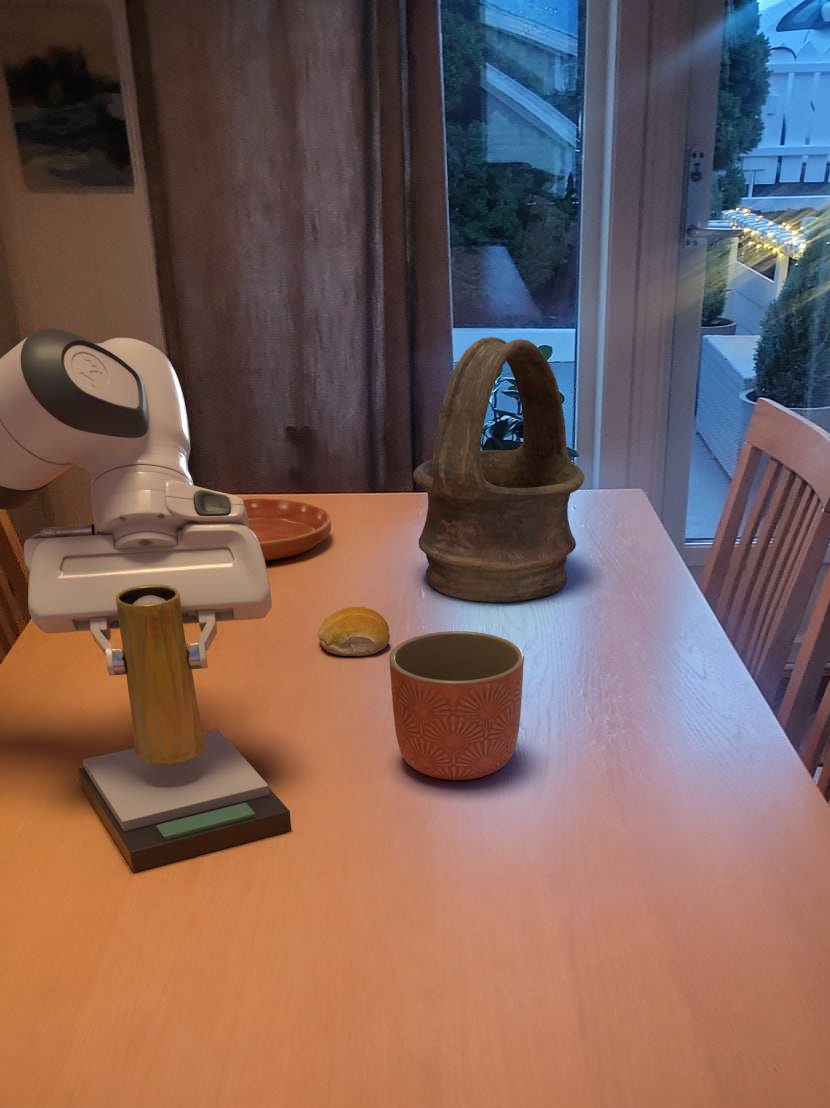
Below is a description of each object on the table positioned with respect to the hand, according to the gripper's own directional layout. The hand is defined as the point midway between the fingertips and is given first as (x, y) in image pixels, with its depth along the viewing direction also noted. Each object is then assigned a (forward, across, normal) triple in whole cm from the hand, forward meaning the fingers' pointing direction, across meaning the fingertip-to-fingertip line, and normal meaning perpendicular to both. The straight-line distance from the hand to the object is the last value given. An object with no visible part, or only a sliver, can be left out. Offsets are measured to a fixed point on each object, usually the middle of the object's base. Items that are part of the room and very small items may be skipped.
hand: (158, 669), depth 104 cm
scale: (+10, 0, +9) cm, 13 cm away
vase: (+5, 0, +6) cm, 8 cm away
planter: (+7, +26, +12) cm, 30 cm away
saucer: (-44, +10, +63) cm, 78 cm away
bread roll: (-16, +20, +34) cm, 43 cm away
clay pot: (-29, +41, +48) cm, 70 cm away
